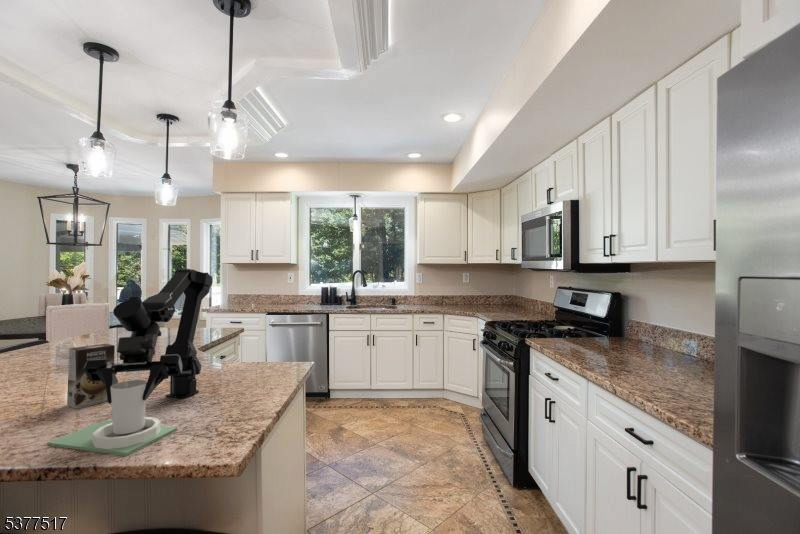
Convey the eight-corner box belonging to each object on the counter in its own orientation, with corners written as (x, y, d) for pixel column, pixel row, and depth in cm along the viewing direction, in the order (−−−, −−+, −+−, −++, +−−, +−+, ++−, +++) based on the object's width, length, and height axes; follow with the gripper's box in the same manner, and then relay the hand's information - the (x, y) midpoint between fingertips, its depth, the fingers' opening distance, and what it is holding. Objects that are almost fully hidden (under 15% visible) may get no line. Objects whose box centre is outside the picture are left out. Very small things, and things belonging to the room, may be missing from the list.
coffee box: (75, 409, 103) (76, 350, 103) (66, 405, 106) (67, 347, 107) (114, 400, 111) (115, 344, 111) (105, 396, 114) (106, 342, 114)
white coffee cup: (128, 436, 81) (128, 389, 81) (102, 433, 83) (102, 388, 83) (154, 423, 88) (153, 380, 88) (129, 421, 89) (129, 379, 89)
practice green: (47, 445, 82) (47, 433, 82) (105, 422, 94) (105, 411, 94) (126, 455, 77) (126, 443, 77) (177, 430, 90) (177, 419, 90)
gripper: (87, 324, 86) (61, 387, 76) (180, 321, 92) (168, 378, 82) (101, 351, 93) (79, 412, 83) (186, 346, 100) (176, 403, 89)
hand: (126, 401), depth 84 cm, fingers closed on white coffee cup, 6 cm apart
